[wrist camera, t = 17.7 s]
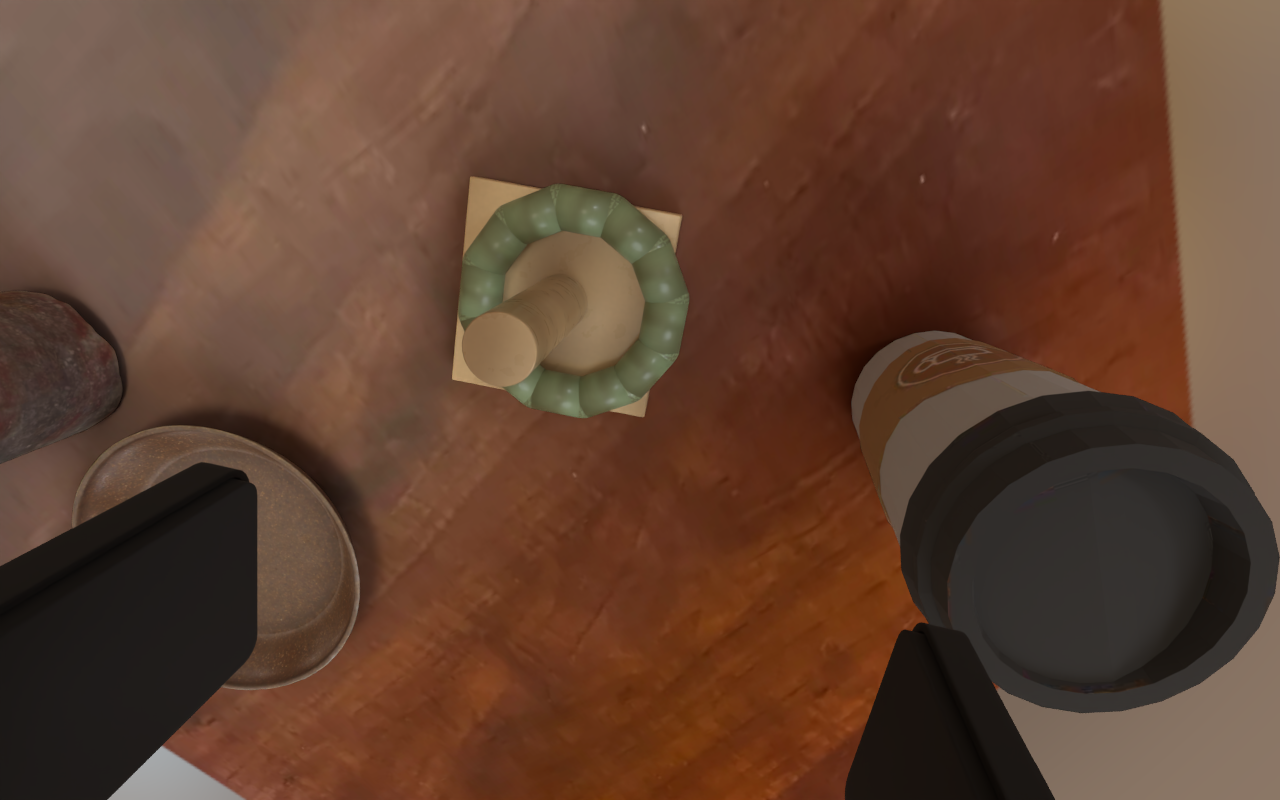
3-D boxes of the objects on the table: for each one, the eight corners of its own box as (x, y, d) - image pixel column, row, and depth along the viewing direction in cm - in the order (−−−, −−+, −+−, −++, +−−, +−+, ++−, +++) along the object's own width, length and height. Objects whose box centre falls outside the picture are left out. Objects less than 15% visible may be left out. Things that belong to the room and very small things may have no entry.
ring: (707, 209, 28) (706, 210, 26) (664, 426, 31) (662, 440, 29) (479, 167, 28) (463, 166, 27) (459, 386, 31) (444, 397, 30)
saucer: (371, 419, 33) (342, 439, 31) (391, 670, 38) (368, 706, 35) (90, 398, 35) (40, 415, 32) (143, 643, 39) (103, 676, 37)
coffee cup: (1008, 282, 29) (1301, 379, 14) (1033, 462, 31) (1311, 702, 16) (808, 333, 30) (894, 467, 16) (846, 501, 32) (952, 752, 18)
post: (682, 214, 29) (668, 229, 20) (646, 411, 32) (617, 507, 22) (477, 176, 29) (365, 172, 20) (458, 373, 32) (353, 453, 23)
